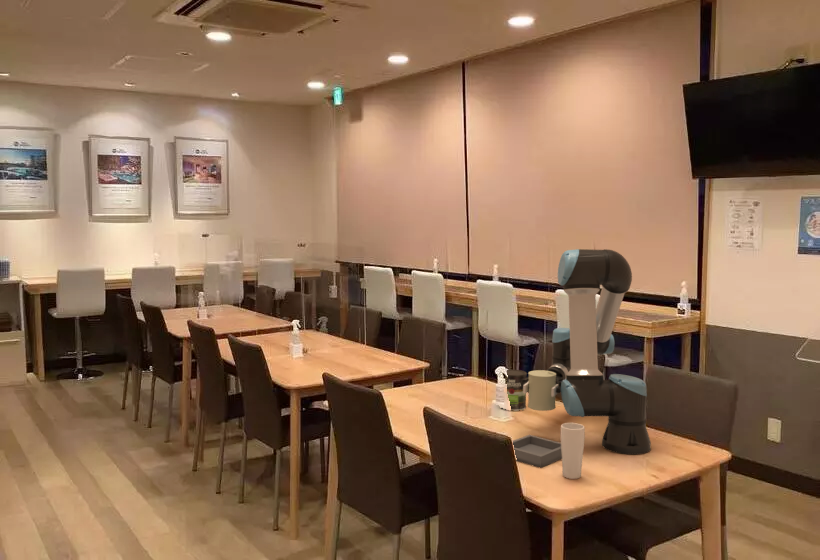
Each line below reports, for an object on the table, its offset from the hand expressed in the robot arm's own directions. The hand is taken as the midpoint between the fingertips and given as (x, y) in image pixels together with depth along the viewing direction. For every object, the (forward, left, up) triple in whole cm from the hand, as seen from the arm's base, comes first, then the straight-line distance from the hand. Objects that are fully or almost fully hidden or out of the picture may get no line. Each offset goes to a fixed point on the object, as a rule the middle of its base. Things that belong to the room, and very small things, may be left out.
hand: (538, 391), depth 242 cm
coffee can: (+32, -29, -18) cm, 47 cm away
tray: (-7, +11, -18) cm, 22 cm away
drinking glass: (-25, +18, -18) cm, 35 cm away
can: (+2, -4, -7) cm, 8 cm away
